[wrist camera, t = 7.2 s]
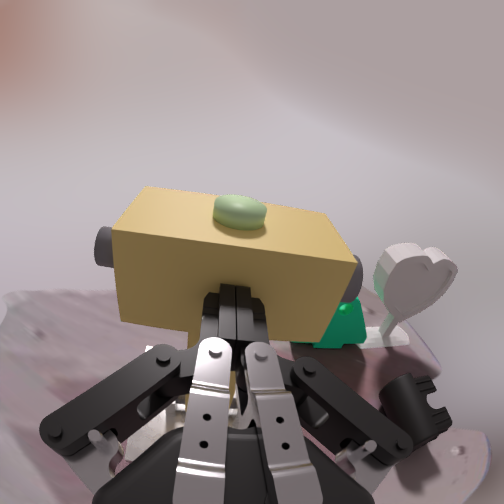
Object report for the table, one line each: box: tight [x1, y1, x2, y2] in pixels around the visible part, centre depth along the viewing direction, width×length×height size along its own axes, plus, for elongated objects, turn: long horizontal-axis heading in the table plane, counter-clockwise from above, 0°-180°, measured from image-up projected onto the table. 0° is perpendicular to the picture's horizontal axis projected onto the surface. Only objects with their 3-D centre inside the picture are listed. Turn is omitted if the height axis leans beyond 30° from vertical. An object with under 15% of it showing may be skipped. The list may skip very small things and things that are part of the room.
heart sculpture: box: [356, 243, 458, 349], centre depth 40 cm, size 16×5×18 cm, turn 97°
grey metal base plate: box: [125, 346, 239, 463], centre depth 26 cm, size 15×15×6 cm
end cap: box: [379, 373, 452, 452], centre depth 27 cm, size 10×7×7 cm
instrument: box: [94, 186, 363, 412], centre depth 20 cm, size 16×6×20 cm, turn 94°
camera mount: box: [292, 297, 367, 348], centre depth 41 cm, size 12×8×10 cm, turn 92°
